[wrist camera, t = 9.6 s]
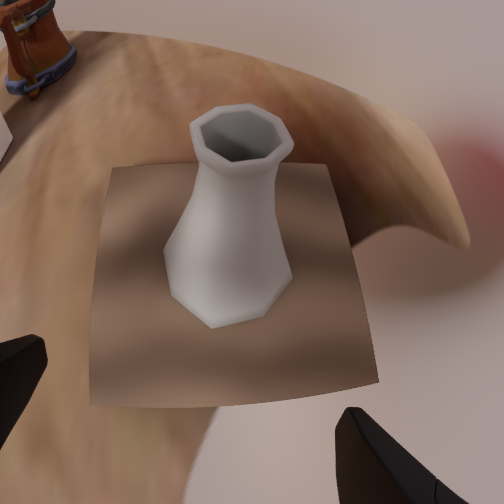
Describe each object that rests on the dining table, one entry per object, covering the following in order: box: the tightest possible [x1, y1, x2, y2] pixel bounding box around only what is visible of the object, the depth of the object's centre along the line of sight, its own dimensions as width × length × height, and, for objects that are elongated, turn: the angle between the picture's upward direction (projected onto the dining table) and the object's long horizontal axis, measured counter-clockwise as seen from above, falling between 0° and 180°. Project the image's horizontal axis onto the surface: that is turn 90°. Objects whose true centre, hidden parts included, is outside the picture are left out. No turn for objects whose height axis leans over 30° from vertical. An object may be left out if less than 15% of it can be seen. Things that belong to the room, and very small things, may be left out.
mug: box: [0, 0, 77, 100], centre depth 23 cm, size 18×12×15 cm, turn 22°
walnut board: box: [89, 162, 379, 408], centre depth 19 cm, size 16×16×2 cm
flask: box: [163, 103, 294, 329], centre depth 14 cm, size 7×7×10 cm
